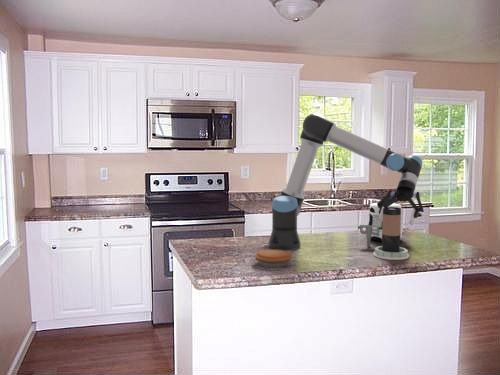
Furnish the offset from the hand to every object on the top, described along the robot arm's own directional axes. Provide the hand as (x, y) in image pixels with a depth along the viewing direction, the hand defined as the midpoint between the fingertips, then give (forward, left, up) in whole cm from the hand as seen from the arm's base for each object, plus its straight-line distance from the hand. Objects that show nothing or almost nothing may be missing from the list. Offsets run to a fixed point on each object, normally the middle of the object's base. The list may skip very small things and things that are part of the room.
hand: (395, 221), depth 202 cm
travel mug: (-2, -1, -14) cm, 14 cm away
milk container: (+5, +32, -15) cm, 36 cm away
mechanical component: (-7, +17, -15) cm, 24 cm away
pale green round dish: (-2, -1, -15) cm, 15 cm away
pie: (-54, -14, -15) cm, 58 cm away
